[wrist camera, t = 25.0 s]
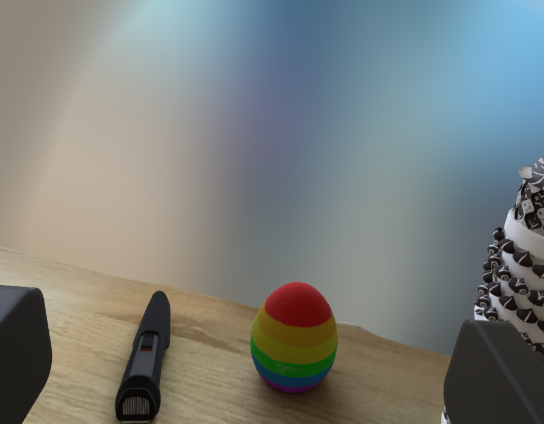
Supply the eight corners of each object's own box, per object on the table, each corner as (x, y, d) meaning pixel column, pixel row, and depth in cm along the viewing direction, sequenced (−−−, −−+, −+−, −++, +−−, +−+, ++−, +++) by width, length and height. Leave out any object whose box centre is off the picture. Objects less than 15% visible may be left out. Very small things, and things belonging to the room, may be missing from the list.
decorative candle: (548, 514, 34) (704, 203, 24) (423, 449, 38) (509, 162, 28) (554, 429, 41) (675, 163, 31) (448, 383, 45) (524, 135, 35)
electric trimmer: (178, 312, 53) (177, 289, 51) (158, 423, 39) (157, 394, 37) (144, 312, 52) (143, 288, 51) (112, 424, 38) (109, 395, 37)
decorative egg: (297, 420, 40) (309, 327, 36) (231, 372, 45) (235, 285, 40) (347, 372, 46) (362, 287, 42) (284, 333, 50) (292, 254, 46)
